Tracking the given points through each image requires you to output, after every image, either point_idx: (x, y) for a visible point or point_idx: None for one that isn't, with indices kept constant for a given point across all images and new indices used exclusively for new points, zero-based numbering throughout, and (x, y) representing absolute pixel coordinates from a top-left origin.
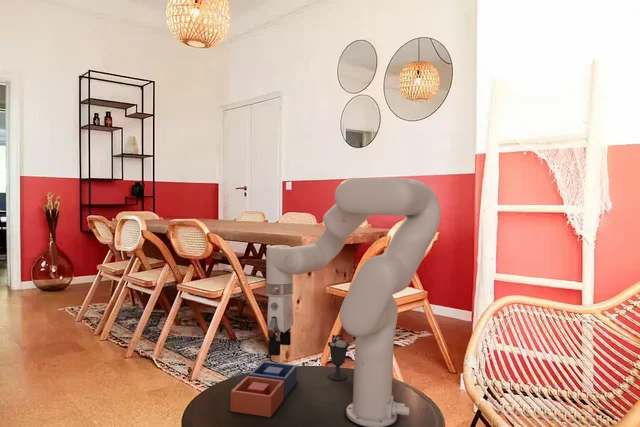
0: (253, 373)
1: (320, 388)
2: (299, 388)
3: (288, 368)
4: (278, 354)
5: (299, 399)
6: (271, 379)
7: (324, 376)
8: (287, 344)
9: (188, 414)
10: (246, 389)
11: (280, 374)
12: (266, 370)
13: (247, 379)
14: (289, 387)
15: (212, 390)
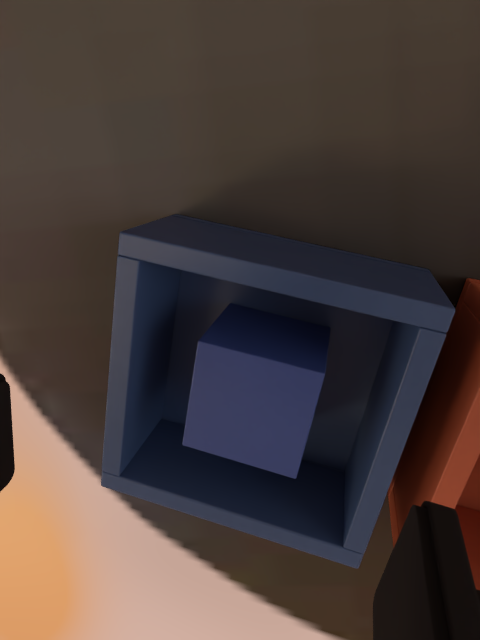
0: (348, 545)
1: (249, 10)
2: (268, 182)
3: (146, 295)
4: (453, 527)
5: (465, 163)
6: (474, 426)
7: (25, 5)
8: (4, 403)
9: None
10: None
11: (277, 349)
12: (270, 461)
13: None
14: (337, 255)
15: (342, 629)
